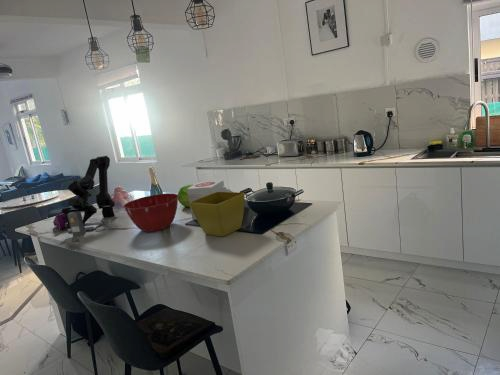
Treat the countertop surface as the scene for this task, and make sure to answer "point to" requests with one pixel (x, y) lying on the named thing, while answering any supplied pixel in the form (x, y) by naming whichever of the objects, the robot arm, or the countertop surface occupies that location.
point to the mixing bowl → (153, 211)
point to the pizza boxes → (204, 191)
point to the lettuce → (184, 196)
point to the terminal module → (76, 223)
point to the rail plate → (89, 226)
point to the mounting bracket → (60, 221)
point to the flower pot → (219, 212)
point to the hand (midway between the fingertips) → (75, 224)
